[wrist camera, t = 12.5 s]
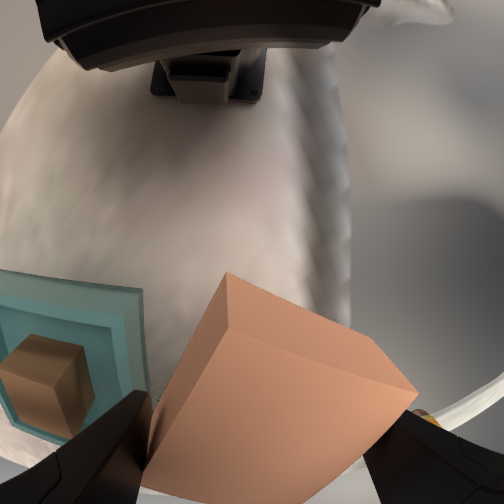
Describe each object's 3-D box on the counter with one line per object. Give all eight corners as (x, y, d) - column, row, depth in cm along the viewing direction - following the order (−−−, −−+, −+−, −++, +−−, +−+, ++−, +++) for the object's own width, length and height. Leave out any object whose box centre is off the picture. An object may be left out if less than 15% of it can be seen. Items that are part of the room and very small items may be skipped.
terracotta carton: (226, 272, 7) (228, 327, 4) (370, 337, 8) (419, 393, 5) (151, 417, 8) (135, 484, 5) (274, 453, 9) (288, 513, 6)
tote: (-9, 267, 16) (-39, 283, 12) (142, 288, 17) (123, 316, 13) (28, 401, 19) (12, 425, 15) (156, 434, 20) (150, 468, 17)
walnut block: (31, 333, 16) (-4, 367, 11) (83, 345, 17) (53, 387, 12) (45, 384, 17) (20, 420, 12) (95, 397, 18) (74, 441, 13)
